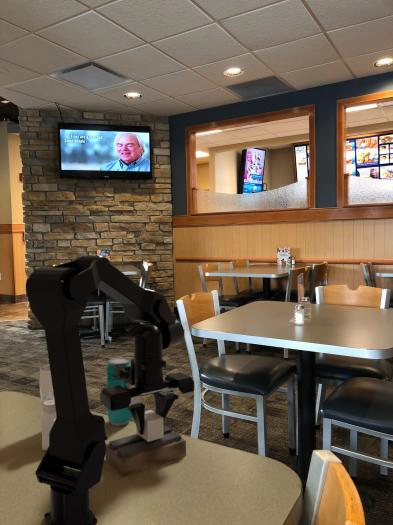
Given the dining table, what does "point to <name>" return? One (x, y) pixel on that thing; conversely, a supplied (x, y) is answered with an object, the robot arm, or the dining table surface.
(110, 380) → the beverage can
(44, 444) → the pepper shaker
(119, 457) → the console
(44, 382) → the metal cup
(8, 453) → the dining table surface
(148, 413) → the block
